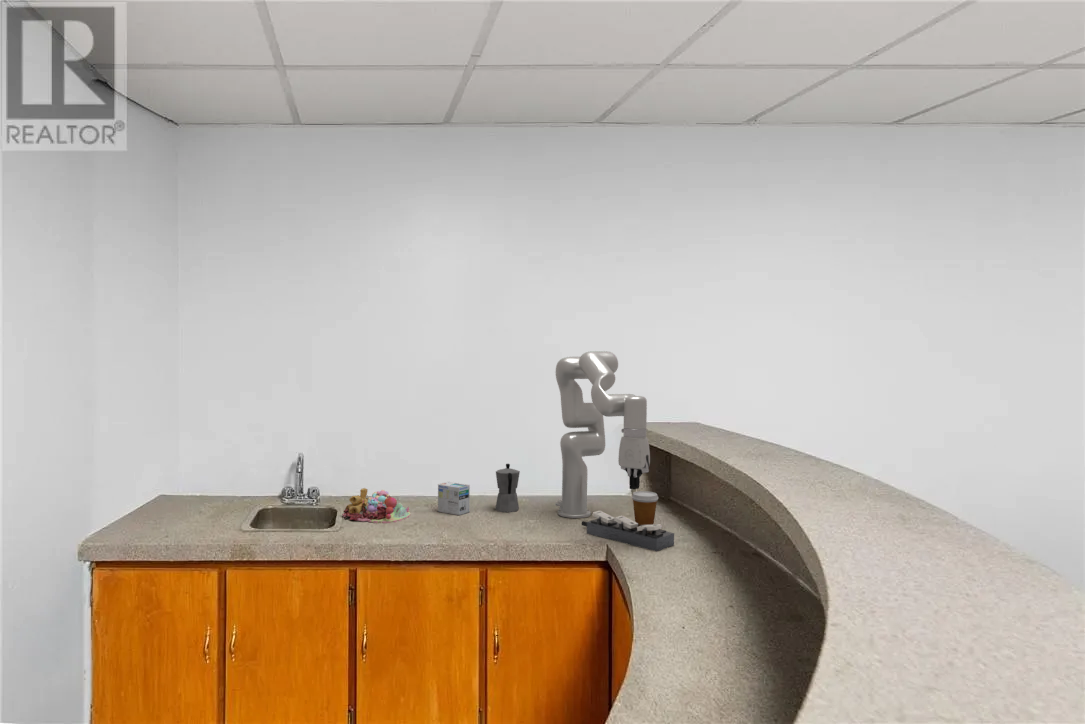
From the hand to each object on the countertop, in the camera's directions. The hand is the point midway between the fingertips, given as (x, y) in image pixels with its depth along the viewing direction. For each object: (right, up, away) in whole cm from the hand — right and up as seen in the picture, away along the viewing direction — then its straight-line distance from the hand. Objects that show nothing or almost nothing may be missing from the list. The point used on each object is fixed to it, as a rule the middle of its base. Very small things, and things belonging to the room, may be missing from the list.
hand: (634, 488), depth 250 cm
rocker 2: (-2, -12, +3) cm, 12 cm away
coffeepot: (-44, -16, +42) cm, 63 cm away
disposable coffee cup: (+6, -18, +21) cm, 28 cm away
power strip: (-3, -18, +7) cm, 19 cm away
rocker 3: (+4, -12, -4) cm, 13 cm away
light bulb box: (-64, -16, +38) cm, 76 cm away
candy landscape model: (-92, -16, +32) cm, 99 cm away
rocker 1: (-9, -11, +9) cm, 17 cm away
